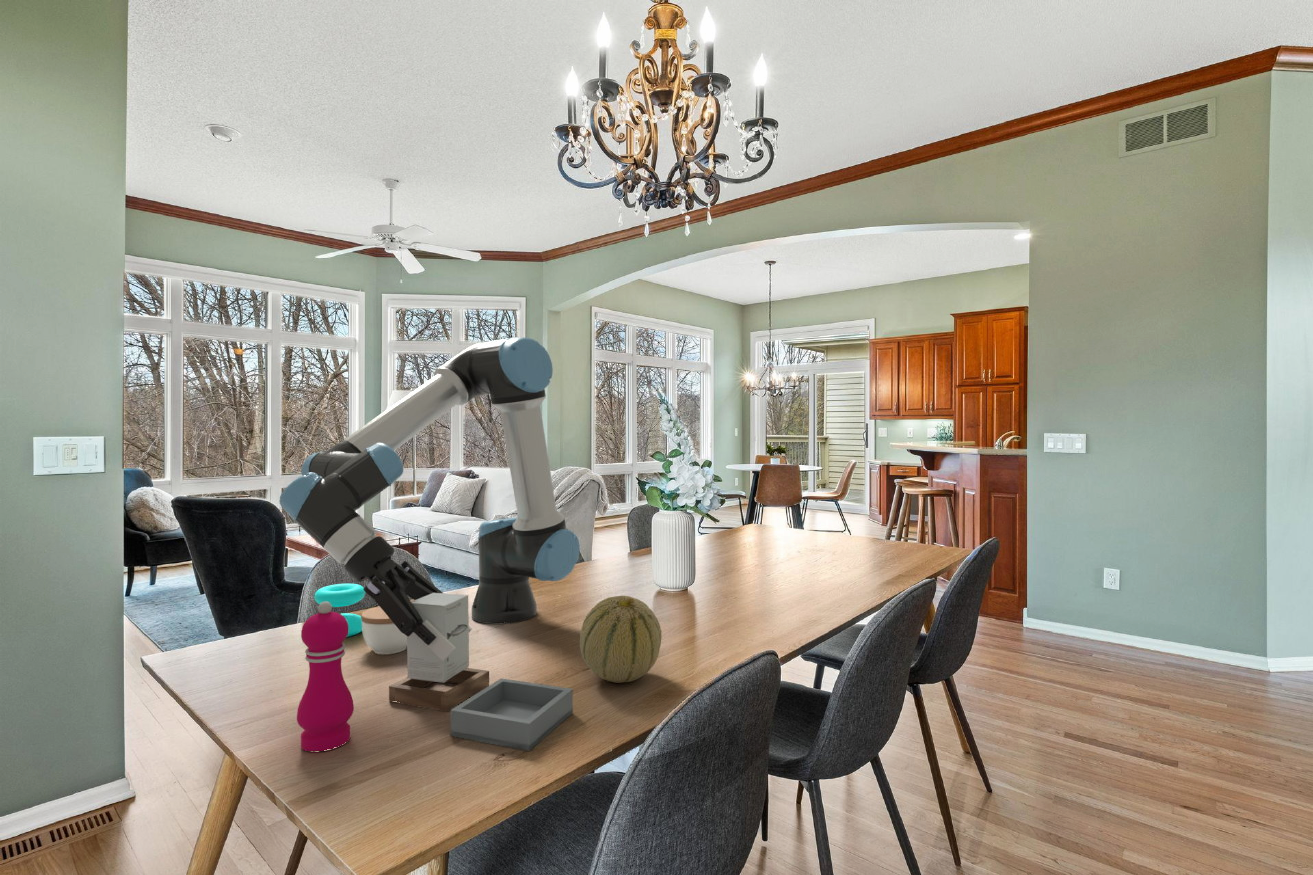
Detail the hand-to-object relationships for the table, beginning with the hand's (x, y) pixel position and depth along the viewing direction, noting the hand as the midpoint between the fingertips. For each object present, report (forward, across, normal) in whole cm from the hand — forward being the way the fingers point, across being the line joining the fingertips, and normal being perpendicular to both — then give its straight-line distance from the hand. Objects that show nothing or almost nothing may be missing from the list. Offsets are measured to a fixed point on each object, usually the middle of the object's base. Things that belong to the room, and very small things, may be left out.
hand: (458, 644), depth 111 cm
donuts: (-19, -33, -31) cm, 50 cm away
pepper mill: (-4, +17, -16) cm, 24 cm away
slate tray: (+14, +12, +2) cm, 19 cm away
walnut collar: (+4, 0, -8) cm, 9 cm away
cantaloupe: (+25, -6, +13) cm, 29 cm away
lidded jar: (-8, -22, -21) cm, 32 cm away
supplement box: (+1, 0, -6) cm, 6 cm away
